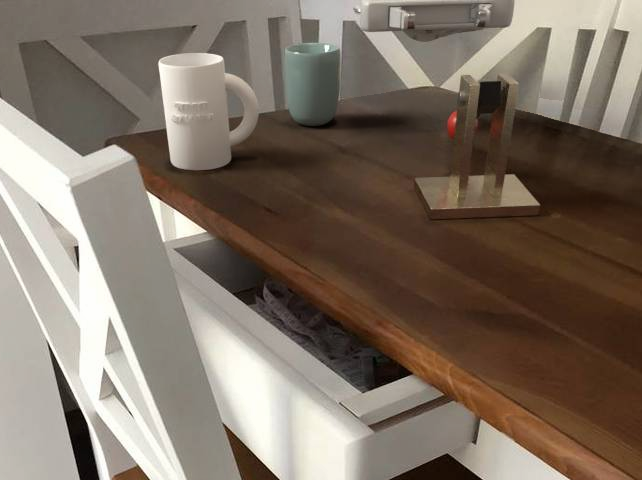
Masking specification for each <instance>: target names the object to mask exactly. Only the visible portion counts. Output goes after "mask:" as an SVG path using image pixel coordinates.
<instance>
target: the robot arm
mask: <svg viewBox="0 0 642 480" xmlns="http://www.w3.org/2000/svg"><path fill="white" fill-rule="evenodd" d="M352 9H353V12H354V13H355V15H359V17H360V19H359V20H360V21H359V25H360V30H361V31H363V32H367V33H381V32H384V33H385V32H403V33H404V34H405V35H406V36H407V37H409V38H410V39H411V40H414V41H416V42H421V43H427V42H432V41H435V40H437V39H439V38H445V37H448V36H451V35H455V34H461V33H469V32H476V31H483V30H484V29H505V28H509V27H510V26H511V25H512V21H513V18H514V12H515V11H514V10H515V0H360V4H354V6H353V8H352Z"/></svg>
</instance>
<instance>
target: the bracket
mask: <svg viewBox="0 0 642 480" xmlns="http://www.w3.org/2000/svg"><path fill="white" fill-rule="evenodd" d="M459 80H460V81H459V88H458V93H457V97H456V102H457V107H456V108H457V109H456V111H457V116H456V125H455V134H454V140H453V143H452V152H451V154H452V155H451V162H450V173H449V176H431V177H428V176H427V177H414V181H413V182H414V183H413V188H414V190H415V192H416V195H417V196H418V198H419V200H420V202H421V204H422V206H423V208H424V210H425V212H426V214H427V216H428V217H429V219H430V220H452V219H454V220H455V219H457V220H458V219H478V218H479V219H480V218H505V217H506V218H507V217H531V216H539V213H540V209H541V208H540V207H541V204H540V203H539V201H538V200H537V199H536V198H535V197H534V196H533V195H532V193H531V192H530V191H529V190H528V189H527V187H526V186H525V185H524V184H523V183H522V182H521V181H520V179H519V178H518V177H517V176H516V174H514V173H513V174H512V173H511V174H506V170H507V166H508V165H507V164H508V158H509V151H510V147H511V146H510V145H511V138H512V132H513V126H514V119H515V113H516V107H517V99H518V94H519V87H520V83H519V82H518V81H517V80H516V79H514V78H513V77H512V76H511V75H509V74H508V73H497V79H496V81H501V106H500V107H499V108H498V109H497V110H496V111H495V112H494V113H492V116H491V123H490V131H489V137H488V144H487V151H486V152H487V153H486V159H485V166H484V167H485V168H484V174H483V175H470V171H471V163H472V153H473V147H474V146H473V145H474V139H475V134H474V131H475V123H476V115H477V107H478V99H479V91H480V84H479V83H480V82H478V81H477V80H476V79H475V78H474V77H473V75H471V74H461V75H460V79H459Z"/></svg>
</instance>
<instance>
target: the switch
mask: <svg viewBox="0 0 642 480" xmlns="http://www.w3.org/2000/svg"><path fill="white" fill-rule="evenodd" d="M478 83H479V84H480V91H479V99H478V107H477V115H476V123H475V131H474V135H475V134H476V133H477V132H478V131H477V130H478V127H479V121H478V118H479V117H480V116H481V115H484V114H485V115H486V114H493V113H494V112H495V111H496V110H497V109H498V108H499V107H500V106H501V81H497V80H489V81H488V80H487V81H479V82H478ZM456 116H457V110H455V111H454V112H452V114H451V115H450V116H449V117H448V119H447V123H446V130H447V134H448V136H449V137H450V138H451V139H452V140H453V141H454V134H455V125H456Z"/></svg>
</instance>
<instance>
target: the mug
mask: <svg viewBox="0 0 642 480" xmlns="http://www.w3.org/2000/svg"><path fill="white" fill-rule="evenodd" d="M157 65H158V72H159V80H160V87H161V88H160V89H161V94H162V95H161V96H162V103H163V112H164V119H165V128H166V135H167V142H168V143H167V144H168V153H169V160H170V163H171V165H172V166H174V167H175V168H177V169H179V170H180V169H181V170H185V171H186V170H187V171H208V170H214V169H219V168H222V167H225V166H226V165H228V164H230V162H231V161H232V147H235V146H238V145H240V144H241V143H242V142H245V141H246V140H247V139H248V138H249V137H250V136H251V135H252V134H253V132H254V130H255V129H256V127H257V124H258V121H259V116H260V108H259V101H258V99H257V96H256V94H255V92H254V90H253V89H252V88H251V86H250V85H249V83H247V82H246V81H245V80H244V79H242V78H241V77H239V76H237V75H234V74H231V73H228V72H226V67H225V59H224V57H223V56H221V55H218V54H216V53H215V54H214V53H205V52H188V53H187V52H186V53H176V54H171V55H167V56H163V57H161V58H160V59H159V60H158V64H157ZM227 90H229V91H231V92H232V93H234V94H236V96H238V98H239V99H240V101H241V103H242V106H243V116H242V117H243V118H242V119H241V122H240V123H239V125H238V126H236V127H235V129H233V130H231V131H230V121H229V108H228V95H227Z"/></svg>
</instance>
